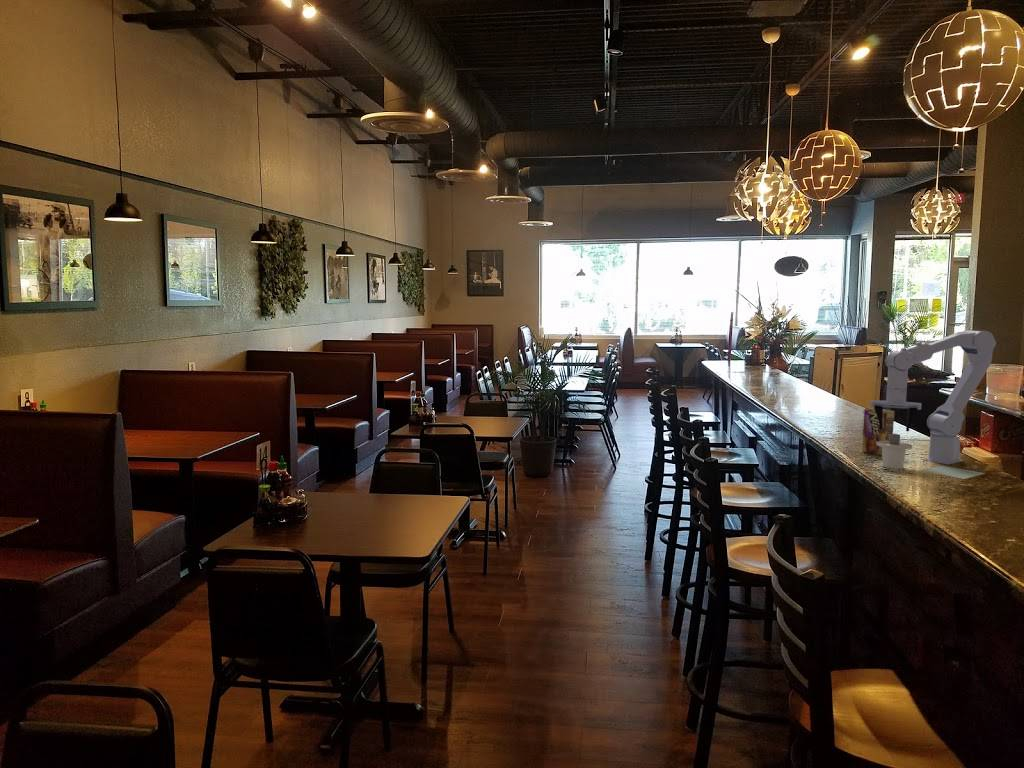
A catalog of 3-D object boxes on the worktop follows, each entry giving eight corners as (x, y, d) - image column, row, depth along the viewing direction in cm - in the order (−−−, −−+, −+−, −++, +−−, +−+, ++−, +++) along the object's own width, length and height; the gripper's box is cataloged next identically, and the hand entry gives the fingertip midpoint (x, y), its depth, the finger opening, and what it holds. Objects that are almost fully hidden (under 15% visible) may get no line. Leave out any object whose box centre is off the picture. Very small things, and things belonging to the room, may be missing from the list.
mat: (940, 466, 234) (940, 465, 234) (985, 474, 223) (985, 473, 223) (919, 471, 227) (919, 470, 227) (964, 480, 216) (964, 478, 216)
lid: (887, 441, 238) (888, 430, 238) (918, 447, 230) (919, 435, 229) (869, 444, 233) (870, 433, 232) (900, 450, 224) (901, 438, 224)
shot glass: (907, 470, 228) (909, 448, 227) (883, 469, 229) (885, 447, 229) (900, 465, 235) (902, 444, 234) (877, 464, 236) (879, 443, 235)
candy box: (892, 455, 251) (895, 410, 249) (883, 456, 249) (886, 411, 247) (869, 450, 259) (872, 407, 257) (861, 451, 257) (863, 408, 255)
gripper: (871, 388, 238) (869, 430, 239) (923, 391, 231) (920, 433, 233) (871, 386, 244) (869, 426, 246) (921, 388, 238) (918, 430, 239)
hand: (894, 430), depth 240 cm, fingers open, 7 cm apart
